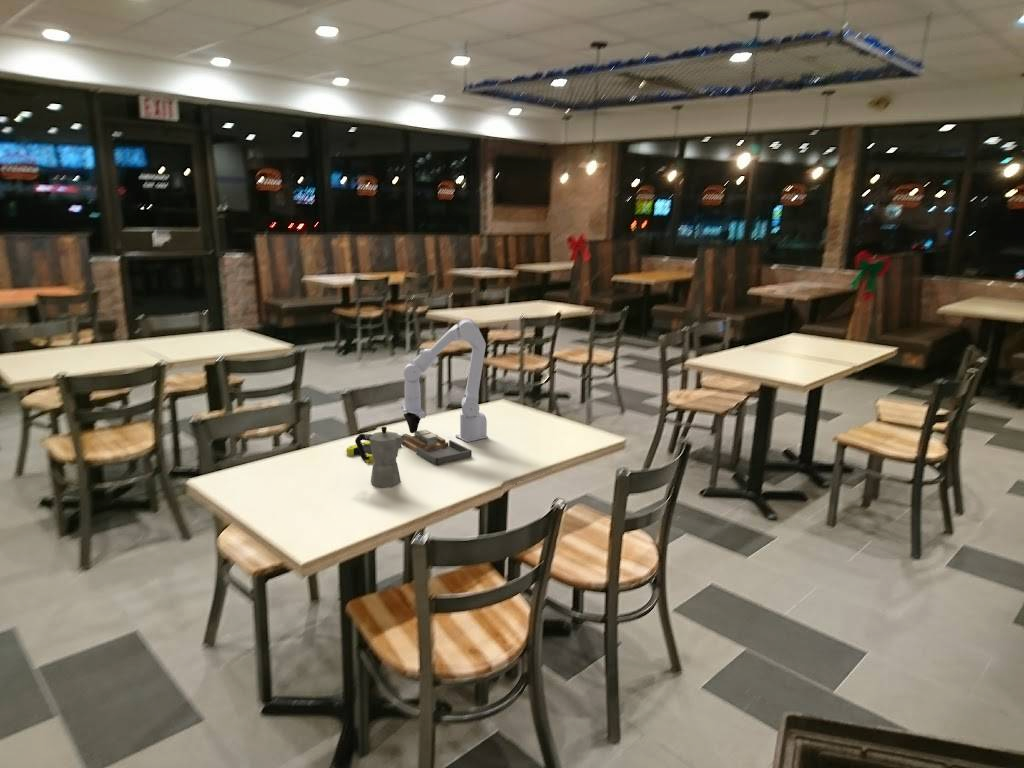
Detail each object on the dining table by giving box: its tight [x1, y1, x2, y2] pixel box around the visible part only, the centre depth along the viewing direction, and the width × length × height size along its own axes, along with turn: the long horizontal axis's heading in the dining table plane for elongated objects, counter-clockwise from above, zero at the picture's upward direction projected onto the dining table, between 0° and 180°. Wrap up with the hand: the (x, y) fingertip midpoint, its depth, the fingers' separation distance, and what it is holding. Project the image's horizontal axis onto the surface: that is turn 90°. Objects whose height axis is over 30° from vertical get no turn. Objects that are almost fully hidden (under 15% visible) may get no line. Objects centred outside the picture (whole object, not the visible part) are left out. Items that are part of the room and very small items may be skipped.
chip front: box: [422, 432, 438, 447], centre depth 236 cm, size 4×4×3 cm
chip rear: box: [414, 429, 431, 442], centre depth 239 cm, size 4×4×3 cm
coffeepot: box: [354, 426, 406, 489], centre depth 203 cm, size 15×9×18 cm, turn 90°
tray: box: [415, 439, 473, 466], centre depth 229 cm, size 14×13×2 cm
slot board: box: [401, 429, 449, 453], centre depth 239 cm, size 12×14×3 cm
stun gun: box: [345, 440, 402, 464], centre depth 231 cm, size 3×19×15 cm
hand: (413, 432), depth 244 cm, fingers closed
